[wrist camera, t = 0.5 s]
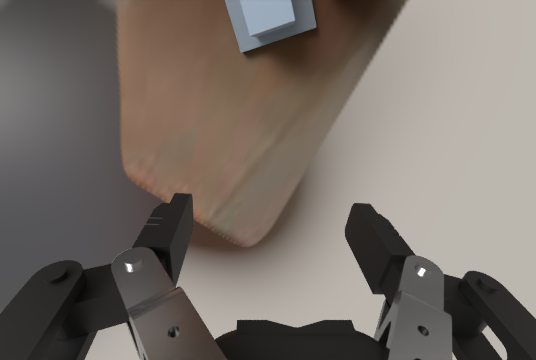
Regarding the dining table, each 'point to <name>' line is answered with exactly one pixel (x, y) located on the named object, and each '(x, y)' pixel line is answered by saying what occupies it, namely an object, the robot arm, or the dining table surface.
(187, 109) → the dining table surface
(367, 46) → the dining table surface
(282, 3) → the rail
